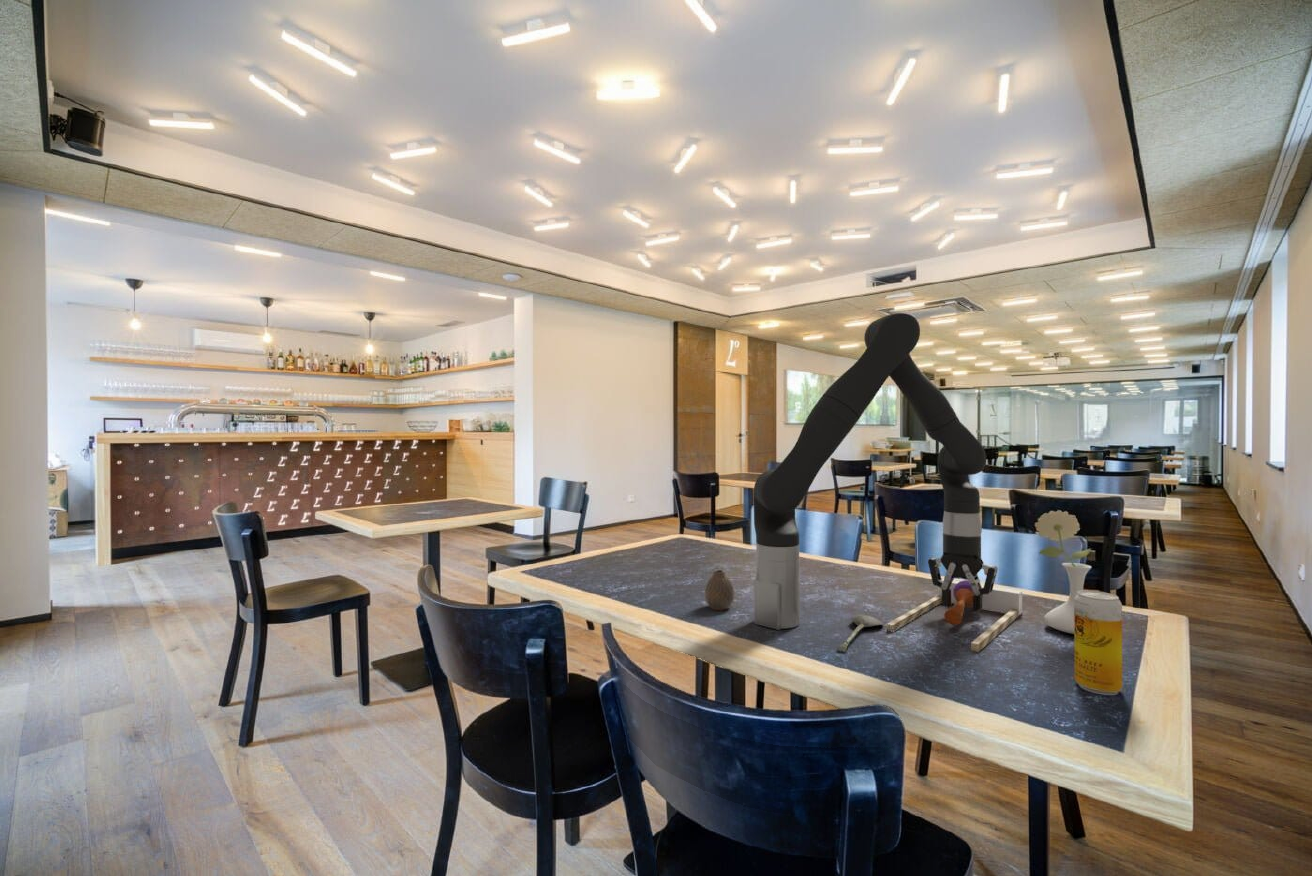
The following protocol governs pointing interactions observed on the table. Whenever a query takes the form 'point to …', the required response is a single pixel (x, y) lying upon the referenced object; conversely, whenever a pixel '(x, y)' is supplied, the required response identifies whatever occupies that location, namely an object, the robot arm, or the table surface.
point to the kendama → (960, 602)
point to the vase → (719, 591)
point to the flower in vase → (1057, 529)
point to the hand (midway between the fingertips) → (961, 608)
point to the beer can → (1098, 642)
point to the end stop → (995, 599)
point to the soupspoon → (859, 628)
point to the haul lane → (975, 645)
